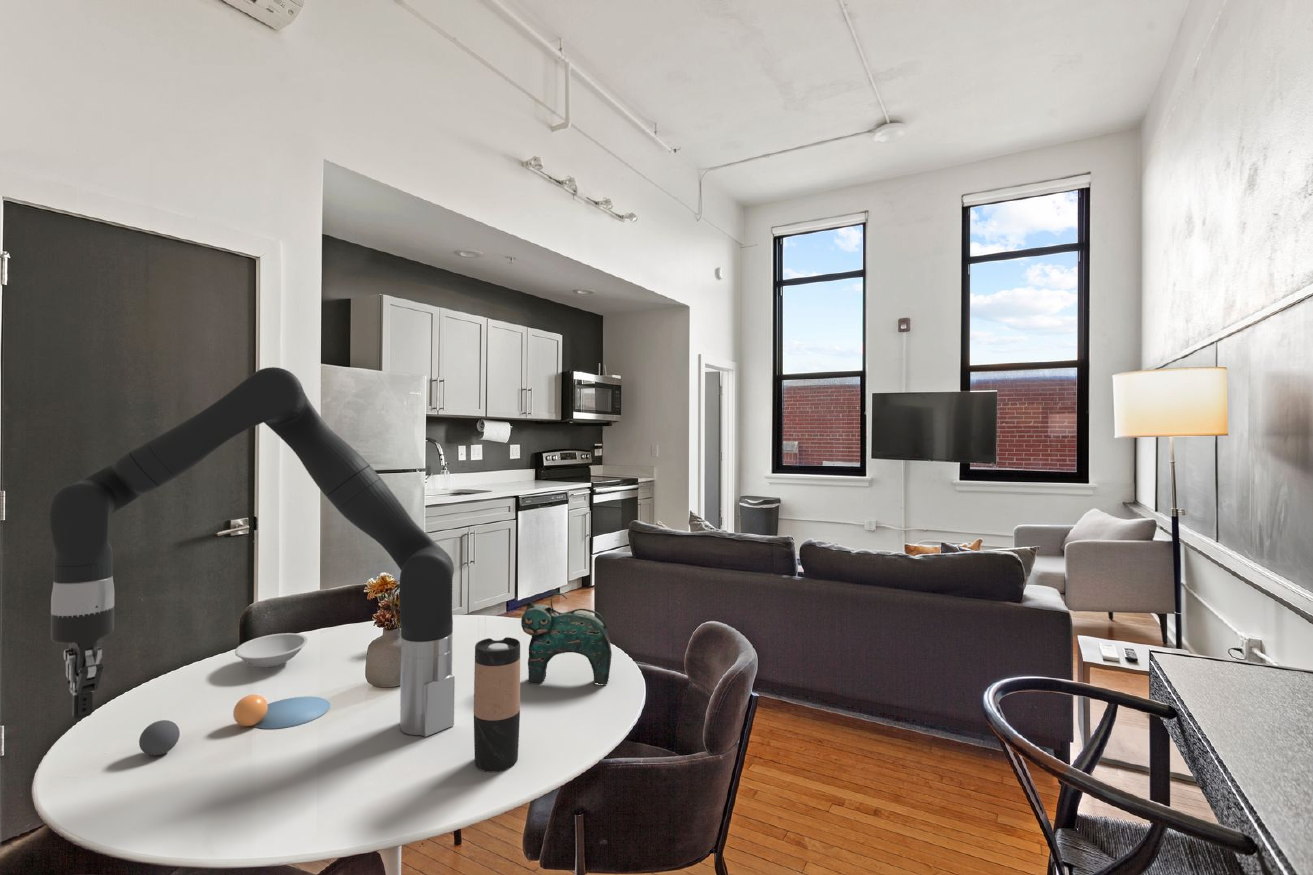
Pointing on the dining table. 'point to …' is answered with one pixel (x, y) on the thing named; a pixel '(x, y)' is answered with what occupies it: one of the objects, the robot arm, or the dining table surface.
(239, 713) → the orange ball
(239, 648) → the dish
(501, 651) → the travel mug
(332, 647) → the dining table surface
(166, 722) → the gray ball
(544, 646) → the ceramic cat
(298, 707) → the blue mark
